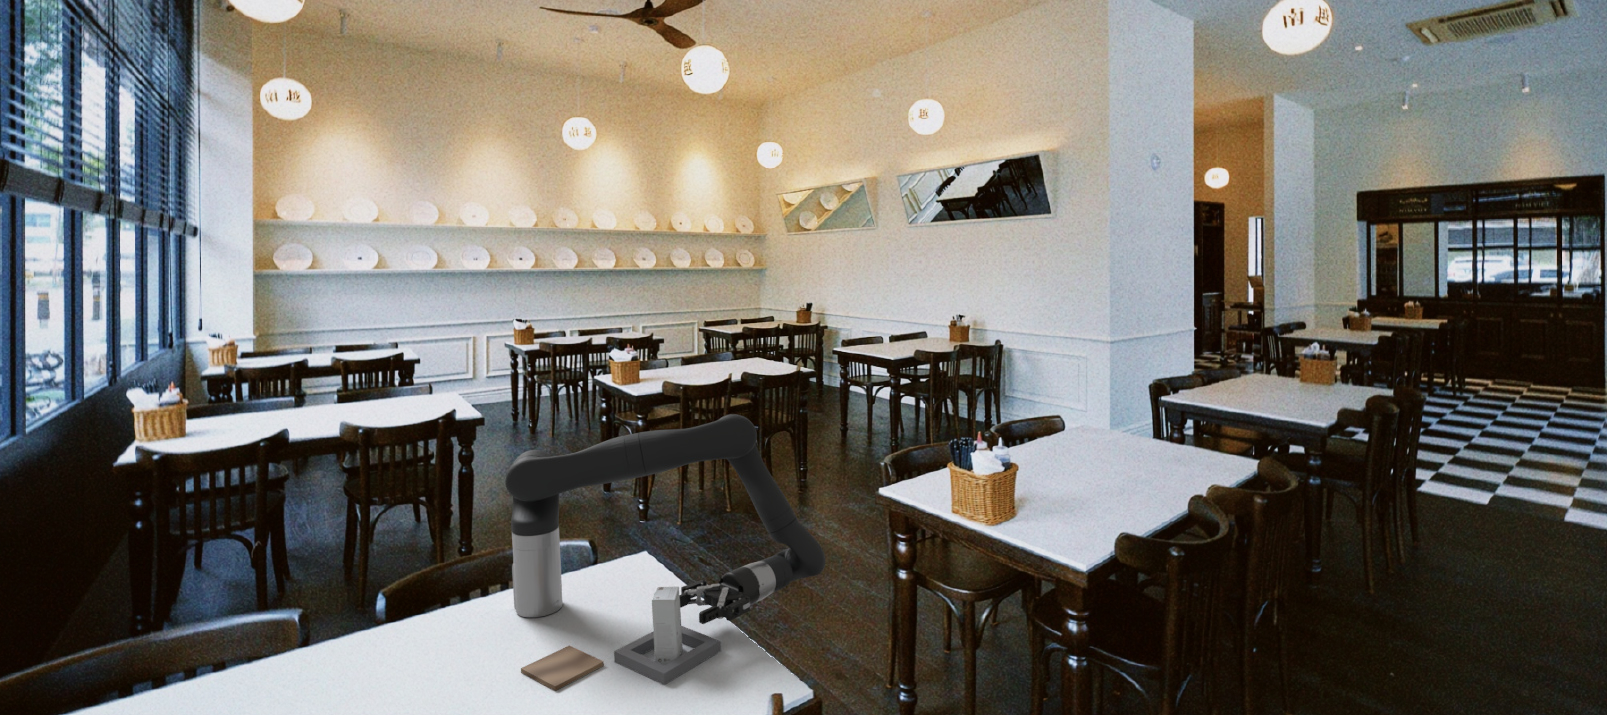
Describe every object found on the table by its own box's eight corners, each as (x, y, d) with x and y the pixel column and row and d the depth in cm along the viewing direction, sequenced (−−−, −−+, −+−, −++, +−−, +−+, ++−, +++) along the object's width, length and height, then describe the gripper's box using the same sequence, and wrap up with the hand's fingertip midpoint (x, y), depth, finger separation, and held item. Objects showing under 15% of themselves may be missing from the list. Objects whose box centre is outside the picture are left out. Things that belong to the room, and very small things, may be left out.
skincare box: (678, 665, 132) (676, 599, 131) (653, 665, 132) (651, 600, 130) (683, 647, 138) (681, 585, 137) (658, 648, 138) (656, 586, 136)
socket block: (614, 661, 133) (614, 651, 133) (672, 631, 144) (671, 621, 144) (664, 684, 125) (663, 673, 125) (721, 651, 136) (720, 640, 136)
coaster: (521, 672, 130) (520, 668, 130) (569, 649, 138) (569, 645, 138) (555, 690, 124) (555, 686, 124) (603, 665, 132) (603, 661, 132)
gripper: (724, 558, 154) (661, 582, 142) (773, 575, 144) (710, 603, 132) (724, 592, 154) (662, 619, 142) (773, 612, 145) (711, 643, 133)
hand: (685, 611), depth 137 cm, fingers open, 8 cm apart
